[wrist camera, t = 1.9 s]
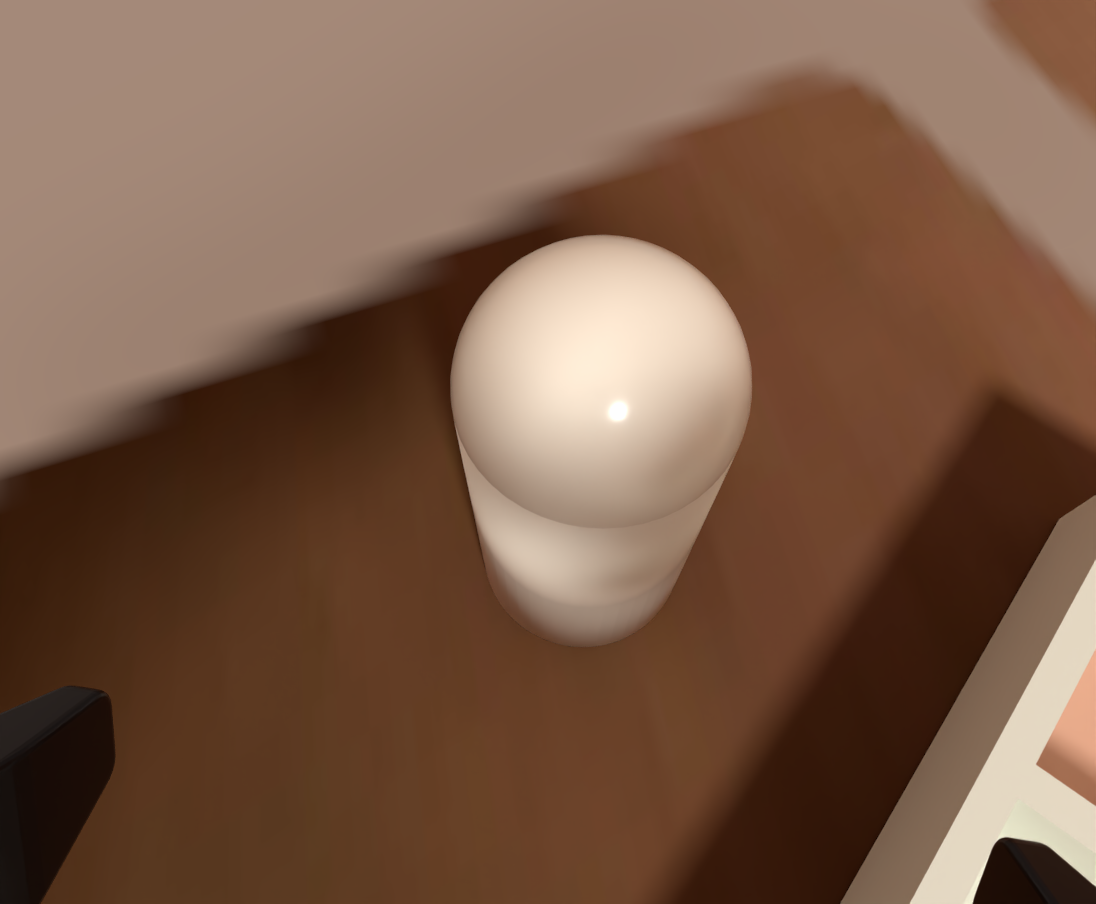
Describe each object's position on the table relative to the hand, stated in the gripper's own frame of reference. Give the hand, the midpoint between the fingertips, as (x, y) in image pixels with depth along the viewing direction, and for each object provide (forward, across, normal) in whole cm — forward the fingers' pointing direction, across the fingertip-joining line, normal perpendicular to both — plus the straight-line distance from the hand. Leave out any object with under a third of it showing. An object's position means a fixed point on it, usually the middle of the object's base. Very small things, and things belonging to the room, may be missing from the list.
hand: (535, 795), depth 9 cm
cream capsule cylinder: (+14, 0, +4) cm, 15 cm away
